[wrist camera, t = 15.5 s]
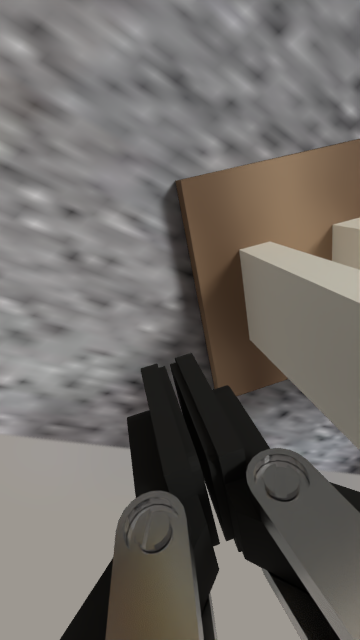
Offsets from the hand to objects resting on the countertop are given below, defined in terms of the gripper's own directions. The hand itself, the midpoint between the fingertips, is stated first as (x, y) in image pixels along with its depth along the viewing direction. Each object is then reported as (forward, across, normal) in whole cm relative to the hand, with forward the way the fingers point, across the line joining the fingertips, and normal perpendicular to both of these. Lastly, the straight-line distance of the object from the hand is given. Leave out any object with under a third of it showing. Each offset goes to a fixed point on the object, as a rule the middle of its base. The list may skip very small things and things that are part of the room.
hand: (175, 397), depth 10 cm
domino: (+6, -6, 0) cm, 8 cm away
